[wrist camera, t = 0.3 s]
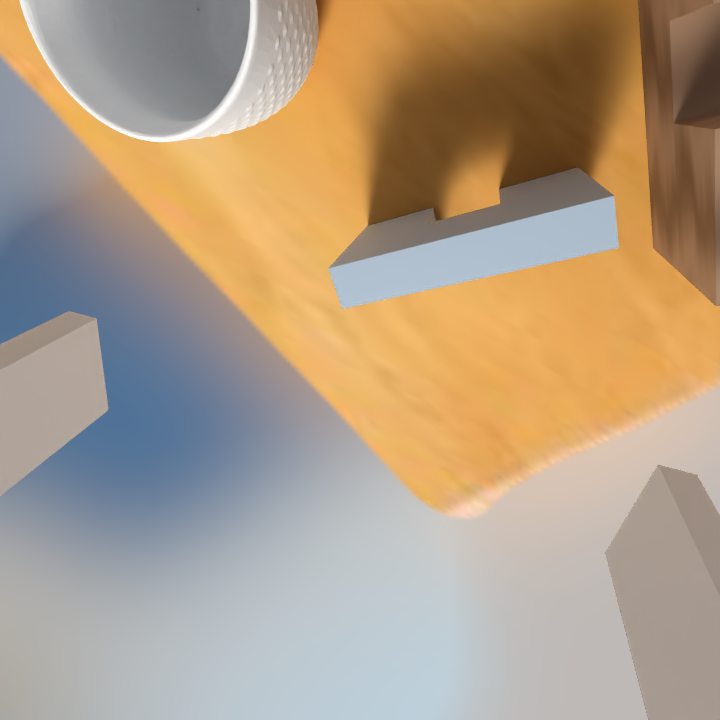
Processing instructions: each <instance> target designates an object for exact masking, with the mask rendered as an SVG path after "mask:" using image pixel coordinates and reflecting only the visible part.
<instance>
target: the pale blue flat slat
mask: <svg viewBox="0 0 720 720" xmlns="http://www.w3.org/2000/svg"><path fill="white" fill-rule="evenodd" d="M499 194H500V203H501V204H498V205H495V206H491V207H487V208H484V209H480V210H476V211H472V212H469V213H465V214H461V215H458V216H454V217H450V218H446V219H443V220H439V221H436V217H435V213H434V209H433V208H430V209H426V210H423V211H419V212H415V213H412V214H408V215H405V216H401V217H398V218H394V219H390V220H387V221H383V222H380V223H376V224H372V225H369V226H367V227H366V228H365V229H364V230H363V231H362V233H361V234H360V235H359V236H358V237H357V238H356V239H355V240H354V241H353V242H352V243H351V244H350V246H349V247H348V248H347V249H346V250H345V251H344V252H343V253H342V254H341V255H340V256H339V257H338V259H337V260H336V261H335V262H334V263H333V264H332V265H331V266H330V267H329V268H328V269H329V272H330V274H331V277H332V280H333V283H334V286H335V289H336V292H337V295H338V298H339V301H340V303H341V306H342V309H344V308H348V307H353V306H357V305H362V304H366V303H371V302H375V301H380V300H384V299H389V298H394V297H398V296H403V295H407V294H412V293H416V292H421V291H425V290H430V289H434V288H439V287H443V286H448V285H452V284H457V283H461V282H466V281H471V280H475V279H480V278H484V277H489V276H493V275H498V274H502V273H507V272H511V271H516V270H520V269H525V268H529V267H534V266H538V265H543V264H548V263H552V262H557V261H561V260H566V259H570V258H575V257H579V256H584V255H588V254H593V253H597V252H602V251H606V250H611V249H615V248H619V244H618V233H617V222H616V211H615V200H614V195H613V194H611V193H610V192H609V191H607V190H606V189H605V188H604V187H602V186H601V185H600V184H599V183H597V182H596V181H595V180H594V179H592V178H591V177H590V176H589V175H587V174H586V173H585V172H584V171H582V170H581V169H580V168H579V167H577V168H573V169H570V170H566V171H563V172H559V173H555V174H552V175H548V176H545V177H541V178H537V179H534V180H530V181H527V182H523V183H520V184H516V185H512V186H509V187H505V188H502V189H499Z"/></svg>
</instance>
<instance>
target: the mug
mask: <svg viewBox="0 0 720 720" xmlns="http://www.w3.org/2000/svg"><path fill="white" fill-rule="evenodd" d="M20 4H21V8H22V11H23V14H24V17H25V19H26V22H27V25H28V27H29V29H30V32H31V34H32V36H33V38H34V40H35V43H36V45H37V47H38V49H39V50H40V52H41V54H42V56H43V57H44V59H45V61H46V63H47V64H48V66H49V67H50V69H51V70H52V72H53V73H54V75H55V76H56V78H57V79H58V80H59V81H60V83H61V84H62V85H63V87H64V88H65V89H66V90H67V91H68V93H69V94H70V95H71V96H72V97H73V98H74V99H75V100H76V101H77V102H78V103H79V104H80V105H81V106H82V107H83V108H84V109H86V110H87V111H88V112H89V113H91V114H92V115H93V116H94V117H96V118H97V119H98V120H100V121H101V122H103V123H104V124H106V125H108V126H109V127H111V128H113V129H115V130H117V131H119V132H121V133H123V134H126V135H128V136H131V137H134V138H138V139H141V140H147V141H154V142H171V141H180V140H186V139H192V138H197V139H201V138H204V137H206V136H217V135H219V134H228V133H232V132H233V131H235V130H241V129H245V128H246V127H248V126H253V125H256V124H257V123H258V122H260V121H264V120H266V119H267V118H269V117H270V116H271V115H273V114H276V112H278V111H279V110H280V108H282V107H284V106H285V105H286V104H288V102H289V100H291V99H292V98H293V97H294V96H295V95H296V93H297V92H298V90H299V89H300V88H301V86H302V85H303V84H304V82H305V80H306V79H307V76H308V75H309V72H310V70H311V67H312V65H313V60H314V58H315V55H316V49H317V41H318V31H319V27H318V10H317V5H316V0H20Z"/></svg>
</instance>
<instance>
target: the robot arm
mask: <svg viewBox="0 0 720 720" xmlns="http://www.w3.org/2000/svg"><path fill="white" fill-rule="evenodd" d="M106 411H108V403H107V395H106V388H105V380H104V372H103V365H102V358H101V350H100V343H99V334H98V327H97V320H96V318H92V317H89V316H85V315H81V314H77V313H73V312H70V311H68V312H66V313H64V314H62V315H60V316H58V317H56V318H54V319H52V320H50V321H48V322H46V323H44V324H41V325H39V326H37V327H35V328H33V329H31V330H29V331H27V332H25V333H23V334H21V335H19V336H17V337H15V338H13V339H11V340H8V341H6V342H4V343H2V344H0V496H1V495H2V494H3V493H4V492H6V491H7V490H8V489H9V488H10V487H12V486H13V485H14V484H15V483H17V482H18V481H19V480H21V479H22V478H23V477H24V476H26V475H27V474H28V473H29V472H31V471H32V470H33V469H35V468H36V467H37V466H38V465H40V464H41V463H42V462H43V461H45V460H46V459H47V458H48V457H50V456H51V455H52V454H53V453H55V452H56V451H57V450H58V449H60V448H61V447H62V446H64V445H65V444H66V443H67V442H68V441H70V440H71V439H72V438H74V437H75V436H76V435H77V434H79V433H80V432H81V431H82V430H84V429H85V428H86V427H87V426H89V425H90V424H91V423H93V422H94V421H95V420H96V419H97V418H99V417H100V416H101V415H103V414H104V413H105V412H106ZM605 554H606V558H607V562H608V566H609V569H610V573H611V577H612V581H613V585H614V589H615V593H616V597H617V601H618V605H619V608H620V612H621V616H622V620H623V624H624V628H625V632H626V636H627V639H628V643H629V647H630V651H631V655H632V659H633V663H634V666H635V671H636V674H637V678H638V682H639V686H640V690H641V694H642V698H643V701H644V705H645V709H646V713H647V717H648V720H720V515H719V513H718V512H717V510H716V508H715V506H714V505H713V503H712V501H711V499H710V497H709V496H708V494H707V492H706V490H705V488H704V487H703V485H702V483H701V481H700V480H699V478H698V476H697V475H695V474H692V473H687V472H683V471H680V470H676V469H672V468H669V467H665V466H661V465H658V466H657V468H656V469H655V471H654V472H653V474H652V476H651V477H650V479H649V481H648V482H647V484H646V486H645V487H644V489H643V491H642V492H641V494H640V496H639V497H638V499H637V501H636V502H635V504H634V506H633V507H632V509H631V511H630V512H629V514H628V516H627V517H626V519H625V521H624V522H623V524H622V526H621V527H620V529H619V531H618V532H617V534H616V536H615V537H614V539H613V541H612V542H611V544H610V546H609V547H608V549H607V550H606V552H605Z"/></svg>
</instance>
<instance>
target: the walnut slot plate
mask: <svg viewBox="0 0 720 720" xmlns="http://www.w3.org/2000/svg"><path fill="white" fill-rule="evenodd" d="M638 5H639V22H640V38H641V54H642V71H643V87H644V103H645V120H646V136H647V152H648V169H649V185H650V201H651V218H652V234H653V248H654V249H655V250H656V251H657V252H658V253H659V254H660V255H661V256H662V257H663V258H665V259H666V260H667V261H668V262H669V263H670V264H671V265H672V266H673V267H674V268H675V269H676V270H678V271H679V272H680V273H681V274H682V275H683V276H684V277H685V278H686V279H687V280H688V281H689V282H691V283H692V284H693V285H694V286H695V287H696V288H697V289H698V290H699V291H700V292H701V293H702V294H704V295H705V296H706V297H707V298H708V299H709V300H710V301H711V302H712V303H713V304H714V305H715V306H719V305H720V0H638Z"/></svg>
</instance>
